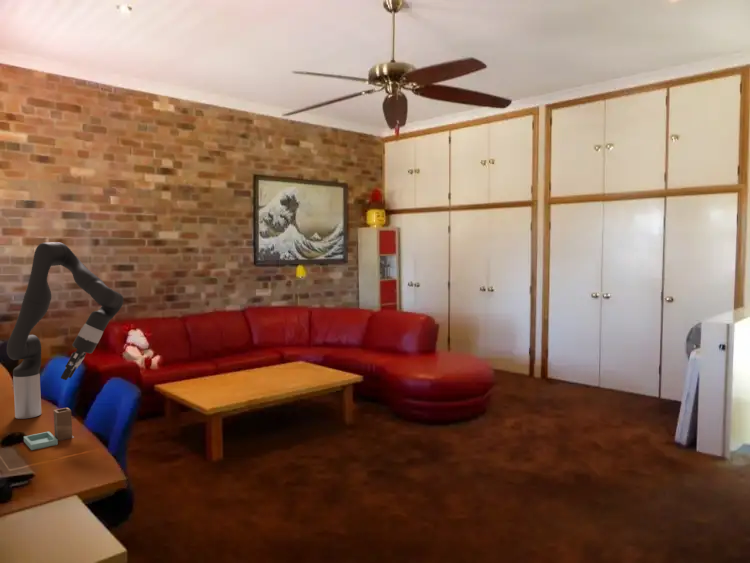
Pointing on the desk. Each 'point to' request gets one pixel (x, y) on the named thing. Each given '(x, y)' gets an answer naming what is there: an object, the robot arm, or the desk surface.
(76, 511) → the desk surface
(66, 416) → the brown rectangular box
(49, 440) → the tray
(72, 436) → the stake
